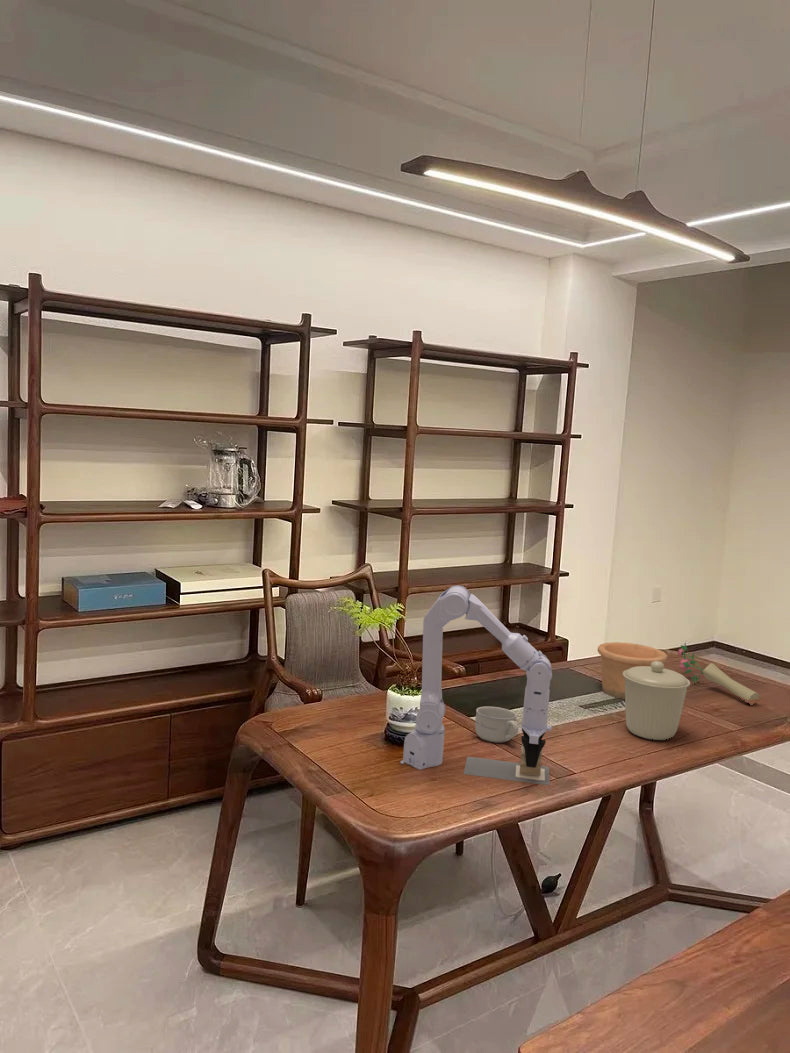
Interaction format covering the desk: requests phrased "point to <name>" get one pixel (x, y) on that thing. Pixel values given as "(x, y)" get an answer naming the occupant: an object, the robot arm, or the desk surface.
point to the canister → (654, 700)
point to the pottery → (624, 663)
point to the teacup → (495, 724)
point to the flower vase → (716, 676)
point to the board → (503, 771)
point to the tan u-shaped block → (529, 770)
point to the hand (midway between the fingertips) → (531, 762)
